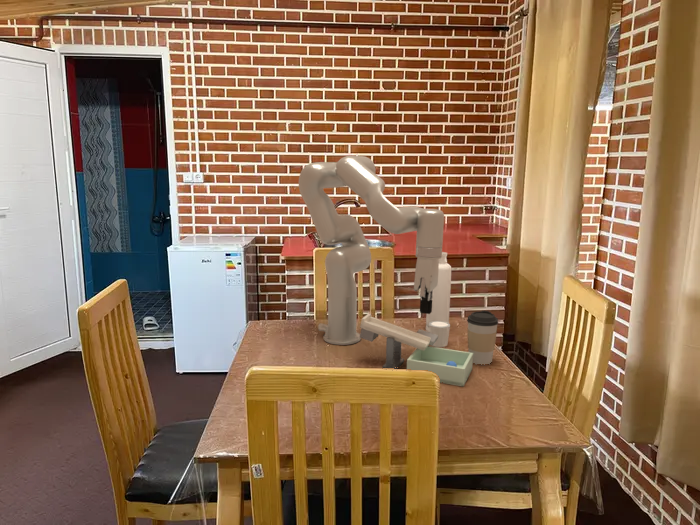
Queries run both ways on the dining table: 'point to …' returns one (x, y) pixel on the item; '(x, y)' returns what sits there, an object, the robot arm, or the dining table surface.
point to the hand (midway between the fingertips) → (425, 312)
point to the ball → (451, 363)
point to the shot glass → (440, 332)
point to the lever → (395, 333)
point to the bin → (443, 364)
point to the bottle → (441, 294)
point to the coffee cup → (482, 336)
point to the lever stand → (393, 354)
